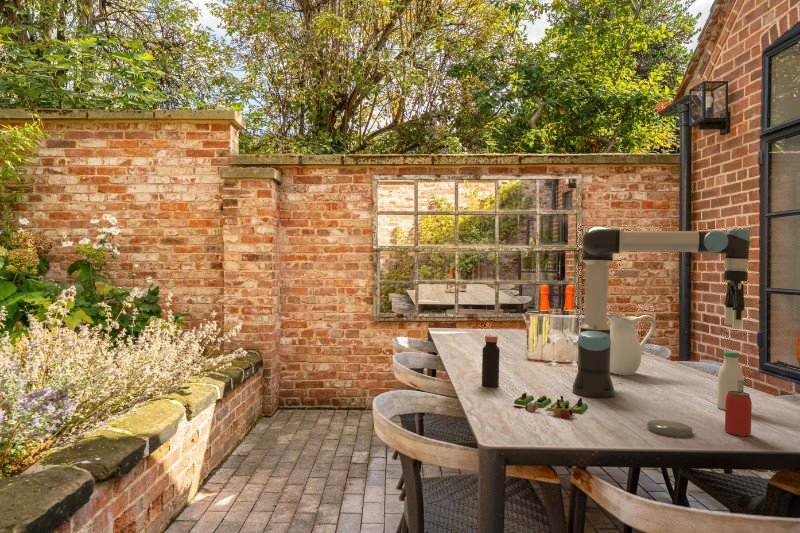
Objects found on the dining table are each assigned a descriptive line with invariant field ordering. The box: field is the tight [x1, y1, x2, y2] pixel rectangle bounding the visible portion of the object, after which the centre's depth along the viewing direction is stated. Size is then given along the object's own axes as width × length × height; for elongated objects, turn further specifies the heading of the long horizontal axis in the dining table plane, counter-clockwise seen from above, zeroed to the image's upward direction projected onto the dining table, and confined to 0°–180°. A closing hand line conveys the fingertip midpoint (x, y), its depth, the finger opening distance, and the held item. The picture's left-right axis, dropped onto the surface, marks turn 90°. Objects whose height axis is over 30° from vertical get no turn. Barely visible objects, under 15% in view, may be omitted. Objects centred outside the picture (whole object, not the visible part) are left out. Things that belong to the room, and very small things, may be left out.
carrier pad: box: [646, 419, 693, 438], centre depth 159 cm, size 12×12×2 cm
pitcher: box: [607, 312, 657, 376], centre depth 248 cm, size 24×17×28 cm
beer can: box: [724, 391, 753, 437], centre depth 158 cm, size 7×7×12 cm
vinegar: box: [481, 334, 500, 388], centre depth 215 cm, size 7×7×20 cm
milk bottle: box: [716, 350, 745, 411], centre depth 187 cm, size 8×8×20 cm
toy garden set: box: [512, 391, 589, 420], centre depth 182 cm, size 23×19×5 cm
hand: (732, 326), depth 201 cm, fingers open, 13 cm apart
